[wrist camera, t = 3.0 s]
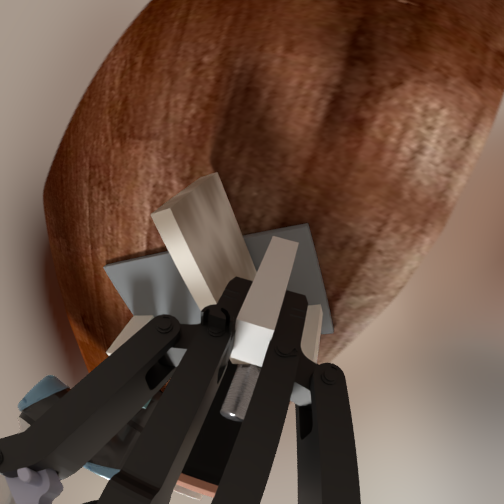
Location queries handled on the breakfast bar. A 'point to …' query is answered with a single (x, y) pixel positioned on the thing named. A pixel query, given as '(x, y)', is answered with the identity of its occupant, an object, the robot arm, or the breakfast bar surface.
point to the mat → (181, 300)
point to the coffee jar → (212, 444)
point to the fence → (307, 342)
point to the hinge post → (240, 392)
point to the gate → (204, 240)
